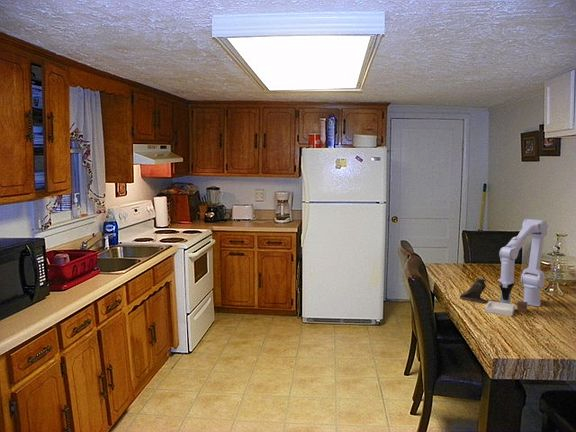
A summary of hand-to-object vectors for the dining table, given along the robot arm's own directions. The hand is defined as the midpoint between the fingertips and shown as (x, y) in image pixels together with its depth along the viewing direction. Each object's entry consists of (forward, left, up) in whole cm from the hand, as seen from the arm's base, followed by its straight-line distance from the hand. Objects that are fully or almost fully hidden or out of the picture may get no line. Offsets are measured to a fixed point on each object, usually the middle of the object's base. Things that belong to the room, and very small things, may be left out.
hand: (506, 298), depth 216 cm
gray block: (0, 0, -2) cm, 2 cm away
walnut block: (-7, +7, -7) cm, 12 cm away
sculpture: (-12, -17, -7) cm, 22 cm away
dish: (0, -2, -7) cm, 7 cm away
